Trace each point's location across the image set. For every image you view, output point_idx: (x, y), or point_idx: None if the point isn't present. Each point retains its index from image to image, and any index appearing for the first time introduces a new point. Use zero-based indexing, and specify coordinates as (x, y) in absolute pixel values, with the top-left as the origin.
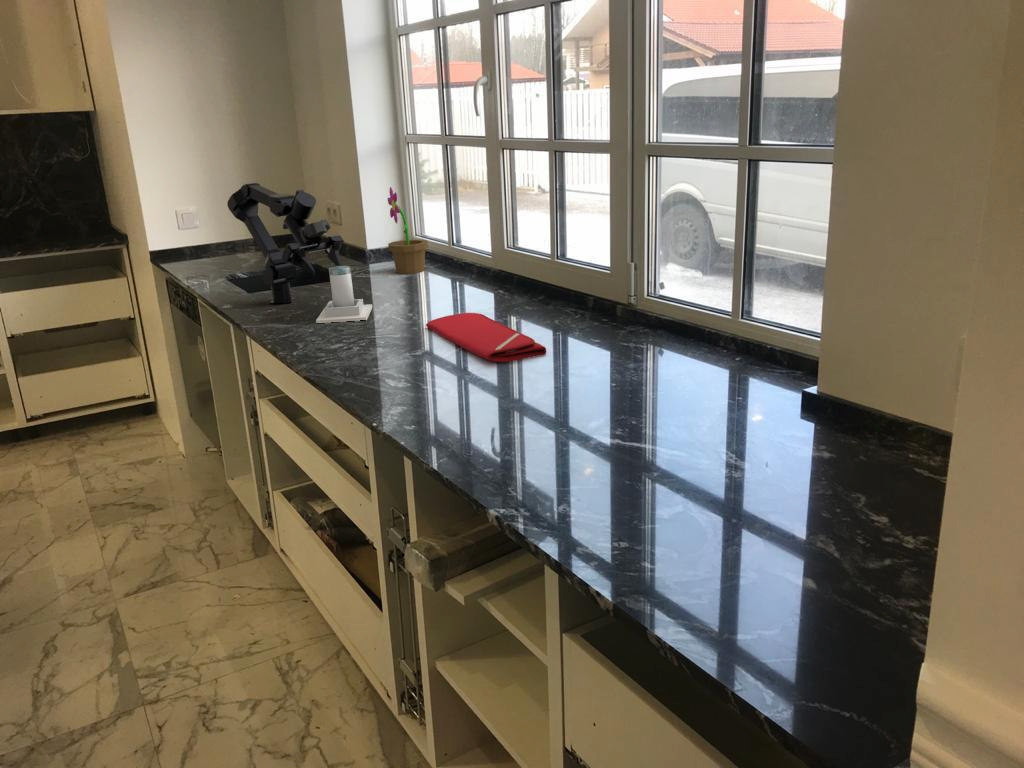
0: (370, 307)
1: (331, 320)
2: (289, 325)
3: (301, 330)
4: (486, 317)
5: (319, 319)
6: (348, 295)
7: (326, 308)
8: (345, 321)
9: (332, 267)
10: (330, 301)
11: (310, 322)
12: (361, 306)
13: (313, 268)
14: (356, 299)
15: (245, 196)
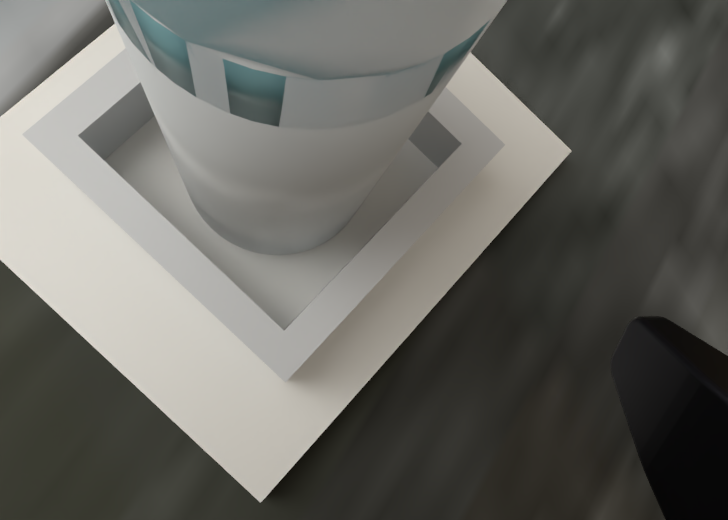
0: (29, 93)
1: (483, 71)
2: (692, 308)
3: (701, 111)
4: None
5: (537, 154)
6: None
7: (485, 135)
8: None
9: (379, 29)
10: (293, 350)
11: (558, 243)
12: None
13: (694, 362)
14: (79, 173)
15: None
